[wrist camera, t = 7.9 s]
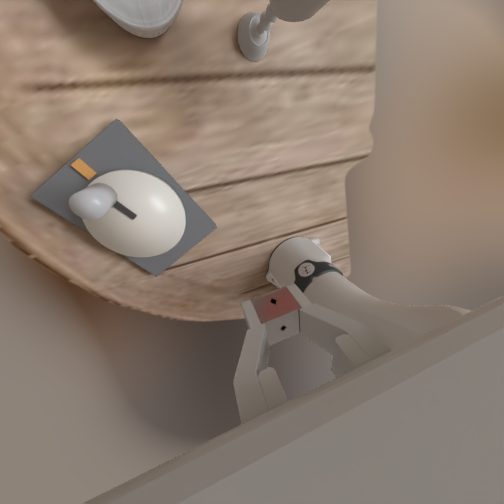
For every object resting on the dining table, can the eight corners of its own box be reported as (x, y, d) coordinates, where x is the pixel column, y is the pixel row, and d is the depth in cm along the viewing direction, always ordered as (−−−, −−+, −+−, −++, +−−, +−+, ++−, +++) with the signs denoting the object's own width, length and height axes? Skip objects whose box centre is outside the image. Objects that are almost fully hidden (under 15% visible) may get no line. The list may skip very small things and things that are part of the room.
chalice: (236, 72, 29) (295, 2, 14) (224, 5, 25) (290, -186, 10) (277, 65, 30) (370, -5, 16) (273, 0, 26) (391, -174, 12)
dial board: (215, 224, 40) (217, 228, 38) (157, 271, 41) (156, 278, 39) (119, 120, 27) (114, 118, 25) (38, 193, 28) (27, 197, 26)
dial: (201, 214, 36) (207, 230, 29) (150, 265, 37) (144, 291, 31) (126, 146, 27) (109, 148, 21) (63, 216, 29) (30, 237, 22)
